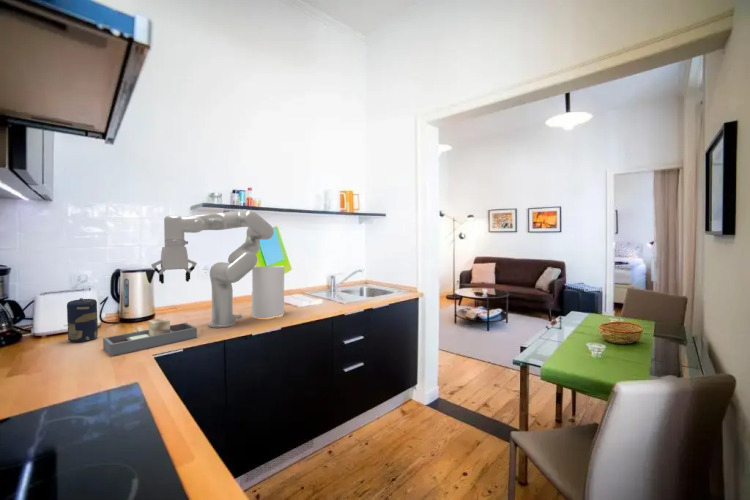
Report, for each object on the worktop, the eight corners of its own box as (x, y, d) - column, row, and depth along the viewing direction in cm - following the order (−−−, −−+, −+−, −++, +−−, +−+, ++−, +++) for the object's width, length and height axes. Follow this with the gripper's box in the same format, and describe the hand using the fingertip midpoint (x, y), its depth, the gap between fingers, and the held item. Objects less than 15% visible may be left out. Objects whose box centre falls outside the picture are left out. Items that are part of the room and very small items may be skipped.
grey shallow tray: (186, 332, 151) (185, 322, 151) (196, 337, 143) (196, 327, 143) (103, 349, 128) (103, 337, 128) (110, 356, 120) (110, 344, 120)
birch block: (165, 331, 141) (164, 318, 141) (170, 334, 138) (169, 320, 137) (148, 334, 137) (148, 320, 137) (153, 337, 133) (153, 323, 133)
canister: (97, 334, 145) (96, 295, 144) (99, 340, 138) (98, 298, 137) (67, 339, 138) (66, 297, 137) (68, 345, 131) (66, 301, 131)
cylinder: (288, 316, 182) (288, 267, 180) (256, 321, 172) (256, 268, 170) (278, 310, 196) (278, 264, 194) (248, 314, 186) (248, 265, 185)
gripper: (194, 243, 152) (194, 279, 153) (149, 243, 140) (150, 282, 141) (198, 244, 146) (198, 281, 147) (152, 244, 135) (153, 285, 136)
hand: (175, 282), depth 144 cm, fingers open, 9 cm apart
